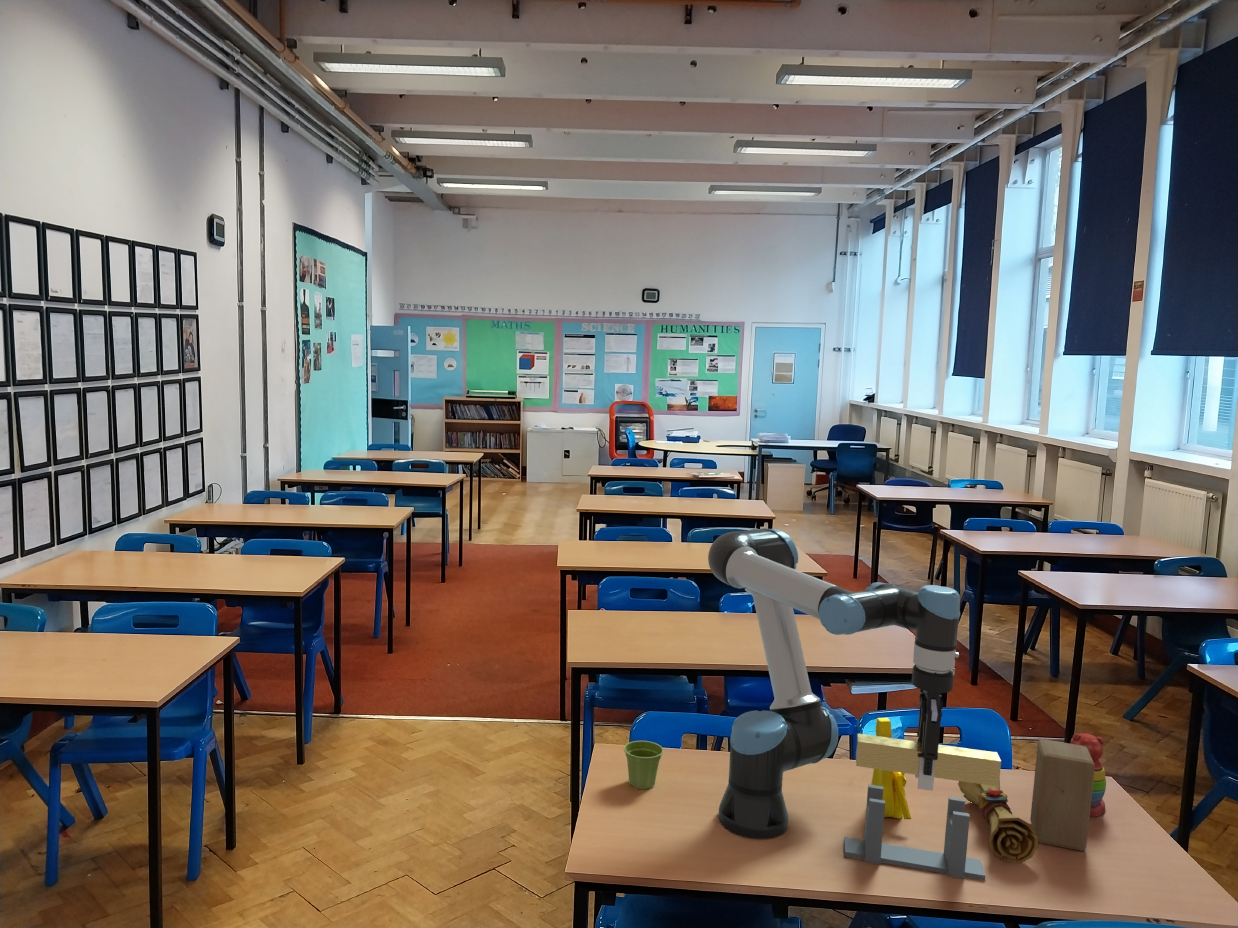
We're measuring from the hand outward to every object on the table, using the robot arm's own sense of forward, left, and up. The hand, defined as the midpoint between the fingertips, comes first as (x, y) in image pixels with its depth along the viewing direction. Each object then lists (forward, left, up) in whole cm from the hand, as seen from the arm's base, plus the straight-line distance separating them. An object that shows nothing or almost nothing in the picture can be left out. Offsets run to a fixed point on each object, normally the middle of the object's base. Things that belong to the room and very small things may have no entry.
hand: (923, 782), depth 166 cm
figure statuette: (-4, +26, -20) cm, 33 cm away
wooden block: (+32, +27, -20) cm, 46 cm away
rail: (0, 0, +2) cm, 2 cm away
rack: (0, +7, -20) cm, 21 cm away
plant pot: (-60, +21, -20) cm, 67 cm away
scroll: (+19, +25, -20) cm, 37 cm away
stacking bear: (+41, +44, -20) cm, 63 cm away
